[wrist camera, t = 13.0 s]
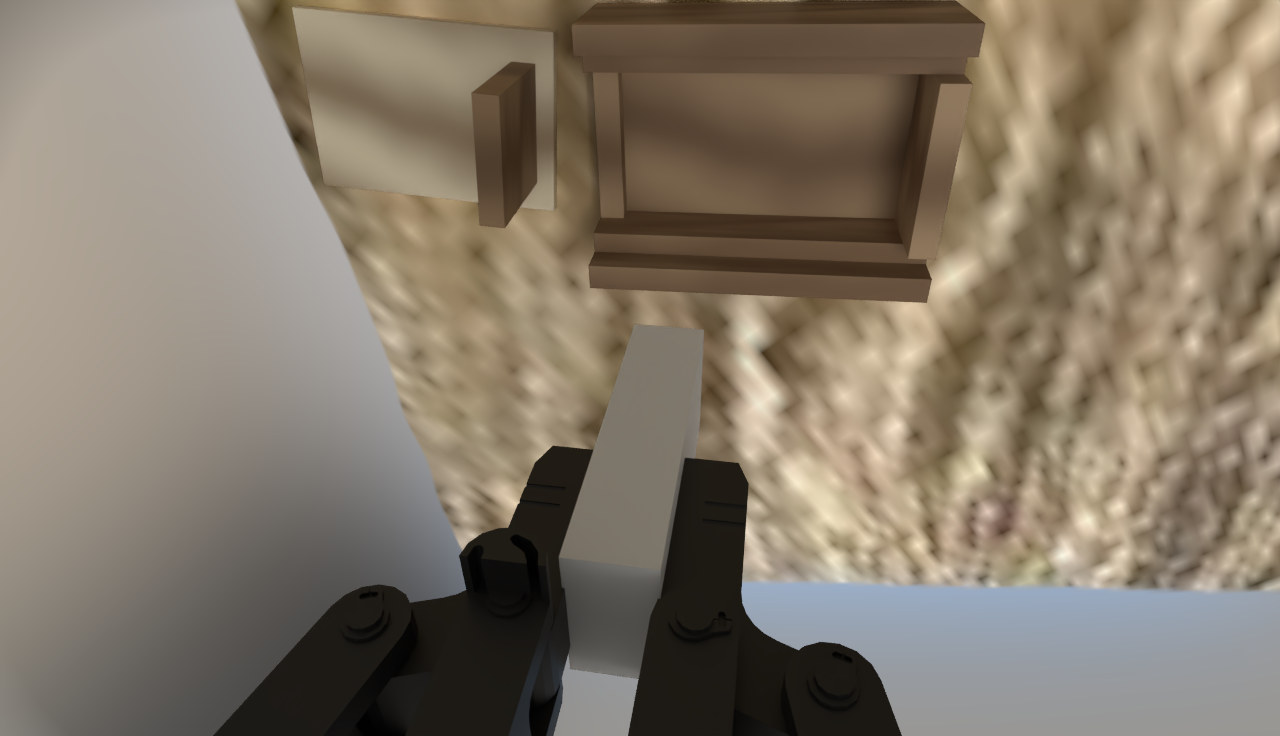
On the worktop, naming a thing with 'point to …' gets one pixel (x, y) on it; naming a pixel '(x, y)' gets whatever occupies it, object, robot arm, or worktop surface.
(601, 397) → the worktop surface
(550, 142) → the cover plate
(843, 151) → the walnut box
